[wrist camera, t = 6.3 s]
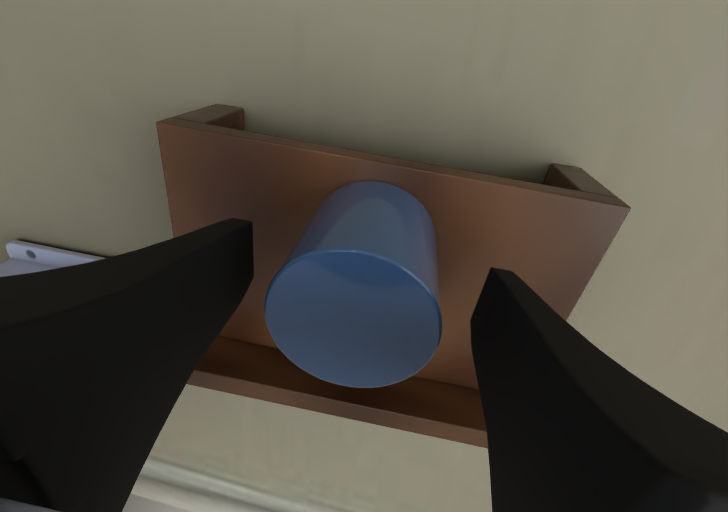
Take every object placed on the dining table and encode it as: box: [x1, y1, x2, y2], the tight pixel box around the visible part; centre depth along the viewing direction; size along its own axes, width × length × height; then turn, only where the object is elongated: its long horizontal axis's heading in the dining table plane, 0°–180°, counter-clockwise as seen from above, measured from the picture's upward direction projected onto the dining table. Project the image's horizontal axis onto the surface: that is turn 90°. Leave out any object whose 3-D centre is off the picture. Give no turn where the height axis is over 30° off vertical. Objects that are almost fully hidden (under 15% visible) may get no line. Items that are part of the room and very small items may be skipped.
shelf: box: [156, 104, 631, 448], centre depth 15 cm, size 15×10×6 cm, turn 82°
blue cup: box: [264, 181, 442, 388], centre depth 11 cm, size 4×4×4 cm
